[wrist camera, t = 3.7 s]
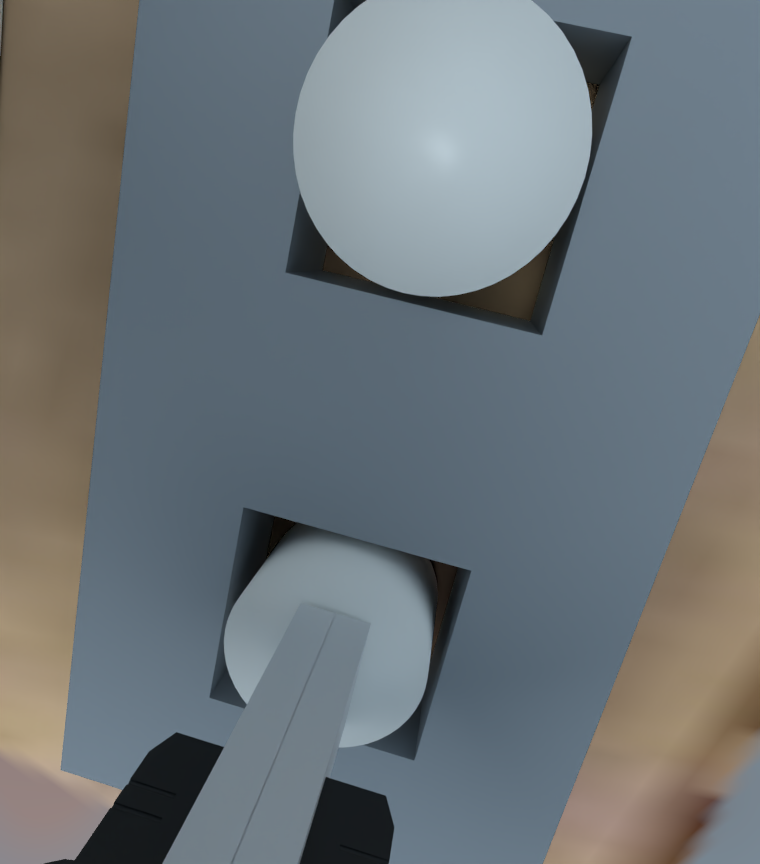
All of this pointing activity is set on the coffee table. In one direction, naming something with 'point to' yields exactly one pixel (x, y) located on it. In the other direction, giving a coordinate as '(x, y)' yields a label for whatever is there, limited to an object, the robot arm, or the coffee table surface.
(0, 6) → the pattern card
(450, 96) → the button middle
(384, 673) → the button
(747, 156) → the button board
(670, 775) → the coffee table surface
